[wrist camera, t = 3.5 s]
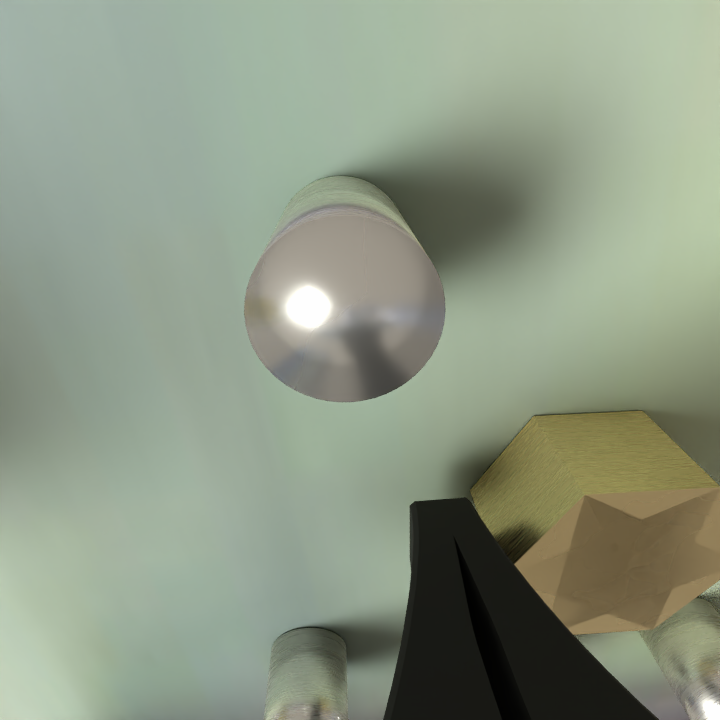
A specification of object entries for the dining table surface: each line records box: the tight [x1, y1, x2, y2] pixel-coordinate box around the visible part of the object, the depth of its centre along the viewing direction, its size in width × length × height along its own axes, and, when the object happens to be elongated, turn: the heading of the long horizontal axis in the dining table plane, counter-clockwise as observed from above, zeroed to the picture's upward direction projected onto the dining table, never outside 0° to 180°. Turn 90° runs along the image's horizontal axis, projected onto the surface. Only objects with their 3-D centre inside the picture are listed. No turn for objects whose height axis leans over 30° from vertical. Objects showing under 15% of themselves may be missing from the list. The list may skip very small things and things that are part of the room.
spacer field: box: [244, 176, 720, 720], centre depth 10 cm, size 14×15×4 cm
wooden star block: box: [470, 411, 720, 635], centre depth 11 cm, size 5×4×2 cm
